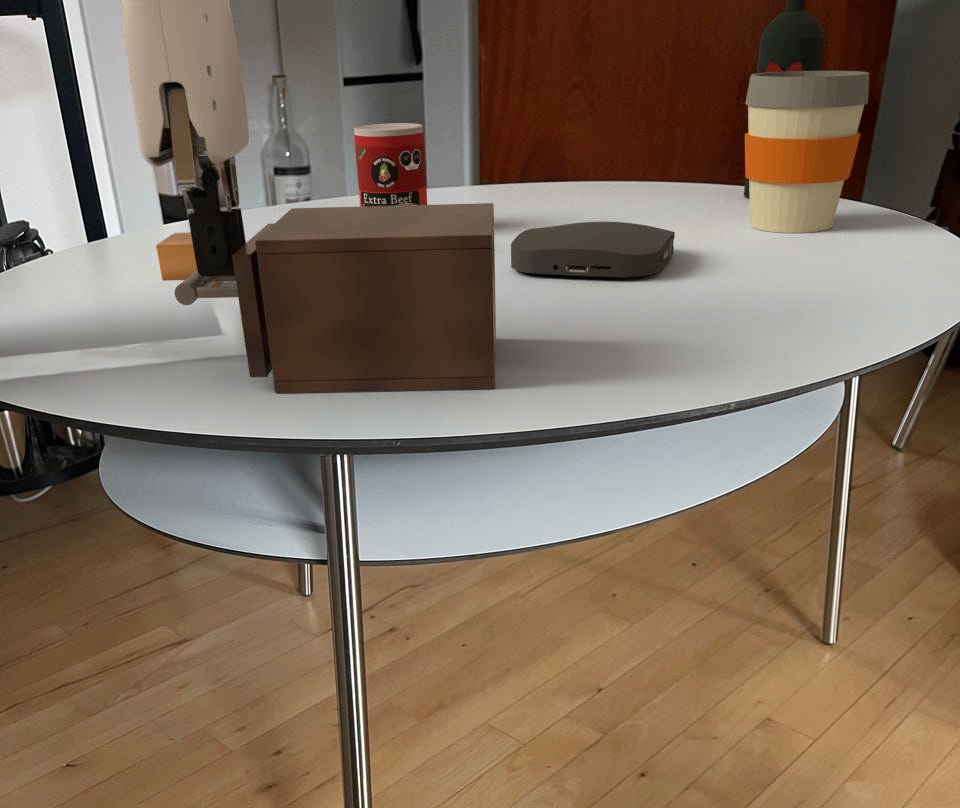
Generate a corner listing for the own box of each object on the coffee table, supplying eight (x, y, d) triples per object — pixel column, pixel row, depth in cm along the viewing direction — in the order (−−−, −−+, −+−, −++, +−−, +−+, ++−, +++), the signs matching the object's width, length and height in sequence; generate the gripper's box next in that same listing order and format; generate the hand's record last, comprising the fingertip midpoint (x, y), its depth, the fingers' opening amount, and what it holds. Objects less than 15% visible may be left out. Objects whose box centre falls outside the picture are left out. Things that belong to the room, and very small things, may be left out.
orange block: (208, 295, 93) (200, 243, 91) (164, 296, 93) (155, 244, 91) (223, 281, 98) (216, 231, 96) (182, 282, 98) (174, 232, 96)
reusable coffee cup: (735, 235, 111) (750, 78, 103) (731, 216, 122) (745, 72, 114) (856, 236, 109) (880, 75, 101) (841, 216, 119) (863, 69, 112)
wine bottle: (736, 202, 130) (763, -86, 115) (748, 190, 138) (775, -80, 123) (799, 204, 128) (837, -90, 112) (808, 192, 136) (844, -84, 120)
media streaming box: (540, 246, 108) (540, 216, 107) (679, 251, 104) (681, 220, 103) (500, 276, 97) (500, 243, 95) (655, 283, 93) (657, 248, 91)
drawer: (176, 379, 68) (154, 256, 64) (217, 334, 78) (200, 225, 74) (452, 373, 68) (447, 249, 63) (458, 328, 77) (454, 218, 73)
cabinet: (275, 393, 68) (254, 240, 63) (306, 342, 79) (290, 208, 74) (494, 389, 67) (491, 234, 62) (496, 337, 78) (493, 202, 73)
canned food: (355, 238, 116) (345, 130, 110) (371, 226, 122) (363, 123, 117) (421, 238, 115) (415, 129, 109) (434, 225, 121) (429, 122, 116)
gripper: (147, -40, 67) (198, 253, 77) (63, -54, 54) (136, 301, 64) (261, -46, 67) (297, 250, 76) (203, -60, 54) (256, 297, 64)
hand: (224, 272), depth 70 cm, fingers closed
